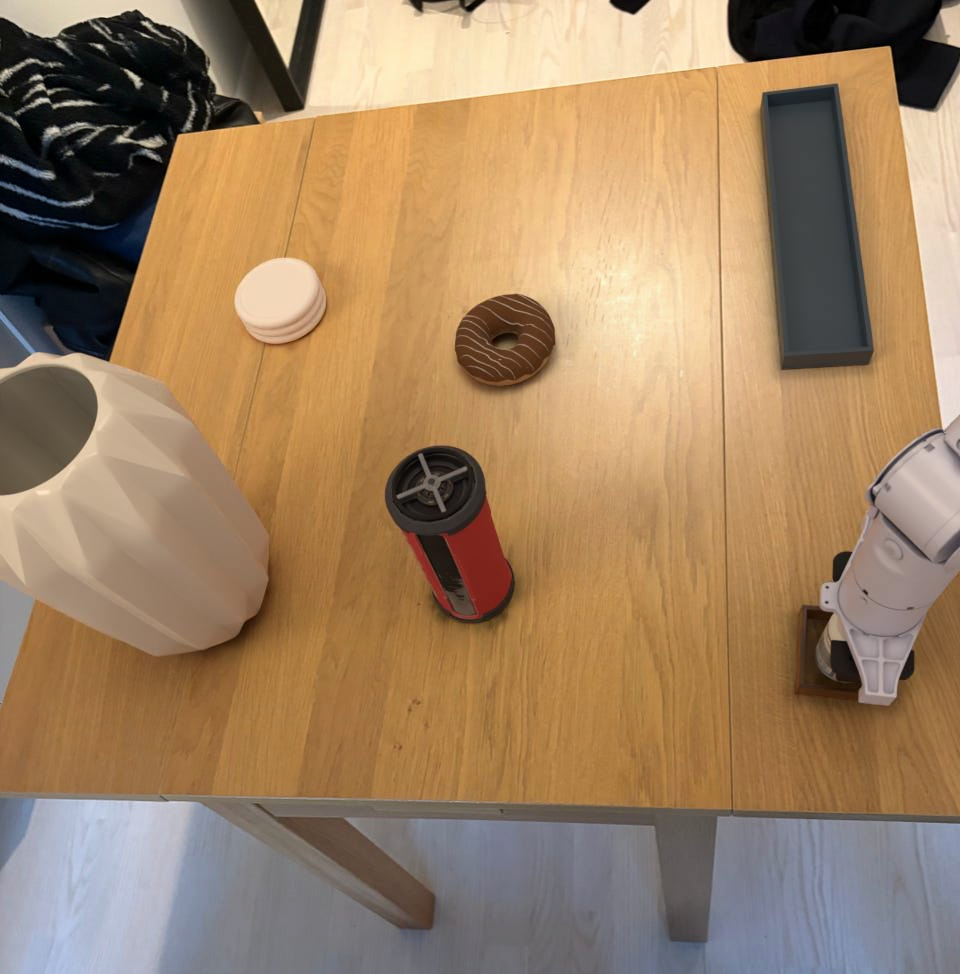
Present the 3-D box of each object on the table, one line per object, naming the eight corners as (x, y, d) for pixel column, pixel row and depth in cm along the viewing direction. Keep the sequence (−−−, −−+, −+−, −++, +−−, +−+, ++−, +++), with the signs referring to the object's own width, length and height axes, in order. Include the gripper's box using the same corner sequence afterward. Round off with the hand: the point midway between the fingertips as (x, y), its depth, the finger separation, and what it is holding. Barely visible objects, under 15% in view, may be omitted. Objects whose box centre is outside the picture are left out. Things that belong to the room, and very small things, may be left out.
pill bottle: (881, 642, 68) (911, 600, 61) (864, 692, 67) (894, 655, 60) (823, 623, 70) (845, 580, 62) (806, 672, 69) (827, 634, 61)
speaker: (527, 605, 75) (497, 501, 59) (450, 637, 76) (399, 542, 59) (498, 538, 79) (462, 423, 62) (424, 569, 79) (368, 462, 62)
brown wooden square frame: (798, 613, 71) (802, 604, 69) (891, 621, 69) (897, 612, 67) (795, 694, 68) (798, 687, 66) (891, 704, 66) (897, 697, 65)
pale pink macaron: (304, 353, 92) (292, 331, 89) (231, 337, 95) (217, 315, 92) (342, 286, 95) (331, 261, 92) (269, 272, 98) (257, 248, 94)
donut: (531, 298, 89) (527, 270, 85) (574, 365, 85) (571, 338, 81) (443, 340, 89) (434, 313, 85) (480, 409, 85) (473, 383, 81)
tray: (759, 109, 94) (762, 92, 92) (834, 100, 92) (838, 82, 90) (781, 369, 80) (784, 355, 78) (868, 364, 79) (874, 350, 77)
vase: (154, 504, 87) (-39, 315, 62) (323, 515, 83) (189, 317, 58) (93, 675, 81) (-150, 540, 56) (274, 697, 76) (98, 561, 51)
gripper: (837, 474, 57) (801, 563, 70) (832, 667, 52) (794, 726, 65) (947, 479, 56) (891, 569, 68) (953, 679, 51) (891, 737, 63)
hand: (850, 646), depth 66 cm, fingers closed on pill bottle, 5 cm apart
